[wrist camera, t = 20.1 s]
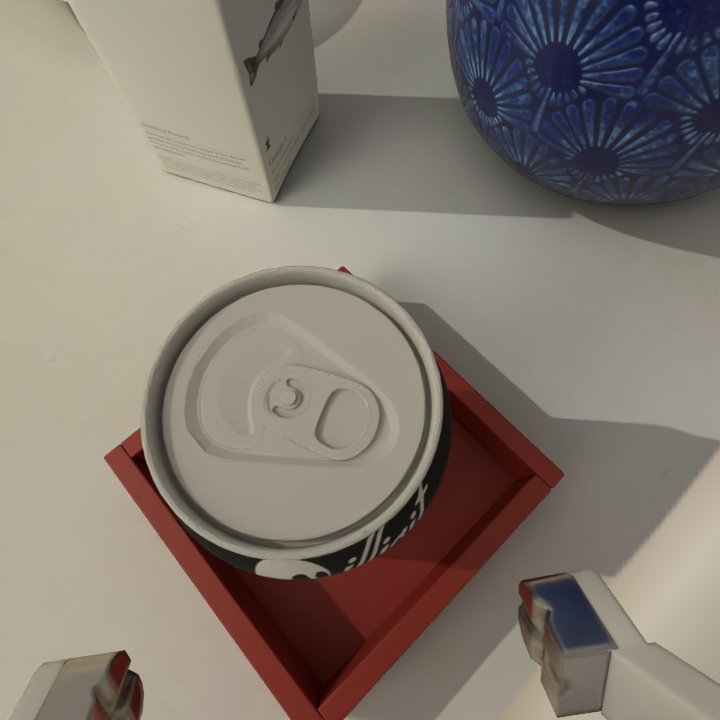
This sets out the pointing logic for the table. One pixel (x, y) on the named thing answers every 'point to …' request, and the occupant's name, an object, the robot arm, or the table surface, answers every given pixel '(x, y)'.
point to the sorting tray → (363, 566)
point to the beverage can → (296, 422)
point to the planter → (595, 92)
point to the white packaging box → (212, 83)
